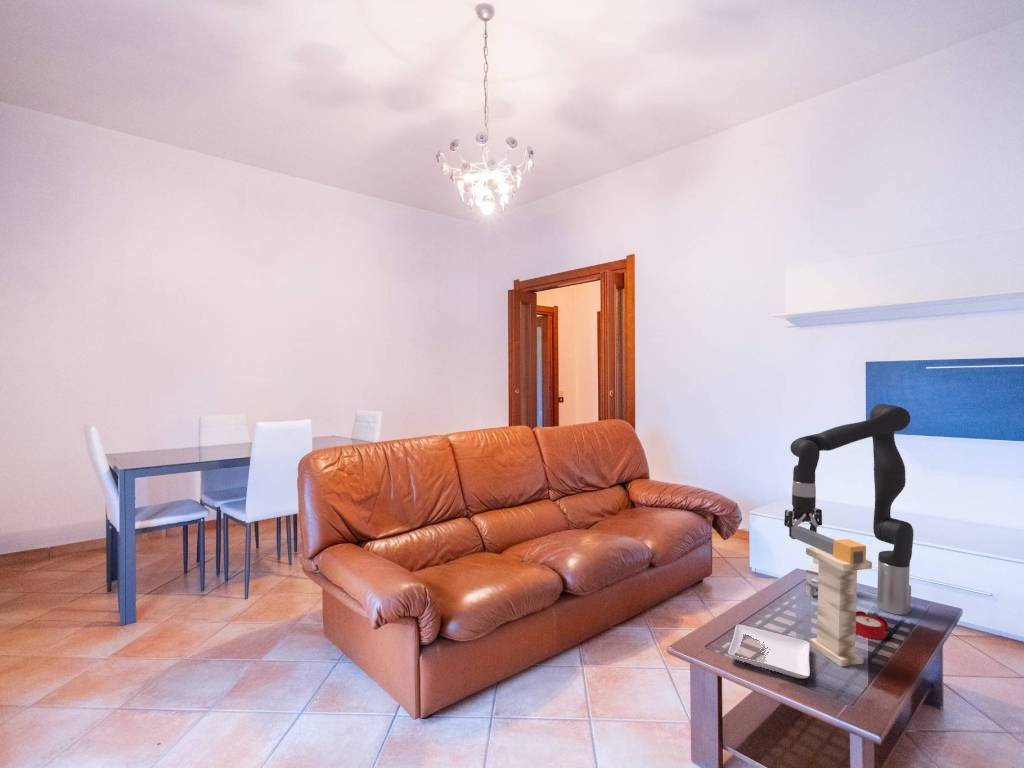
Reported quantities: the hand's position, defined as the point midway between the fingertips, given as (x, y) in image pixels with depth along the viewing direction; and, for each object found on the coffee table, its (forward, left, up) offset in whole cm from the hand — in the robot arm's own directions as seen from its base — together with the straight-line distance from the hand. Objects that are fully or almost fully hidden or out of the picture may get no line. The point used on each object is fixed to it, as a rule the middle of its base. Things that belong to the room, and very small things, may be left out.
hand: (802, 537), depth 185 cm
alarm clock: (-10, +18, -27) cm, 34 cm away
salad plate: (+34, +25, -27) cm, 50 cm away
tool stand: (+13, +28, -26) cm, 40 cm away
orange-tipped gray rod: (+13, +23, +5) cm, 27 cm away
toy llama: (-16, -8, -26) cm, 32 cm away
